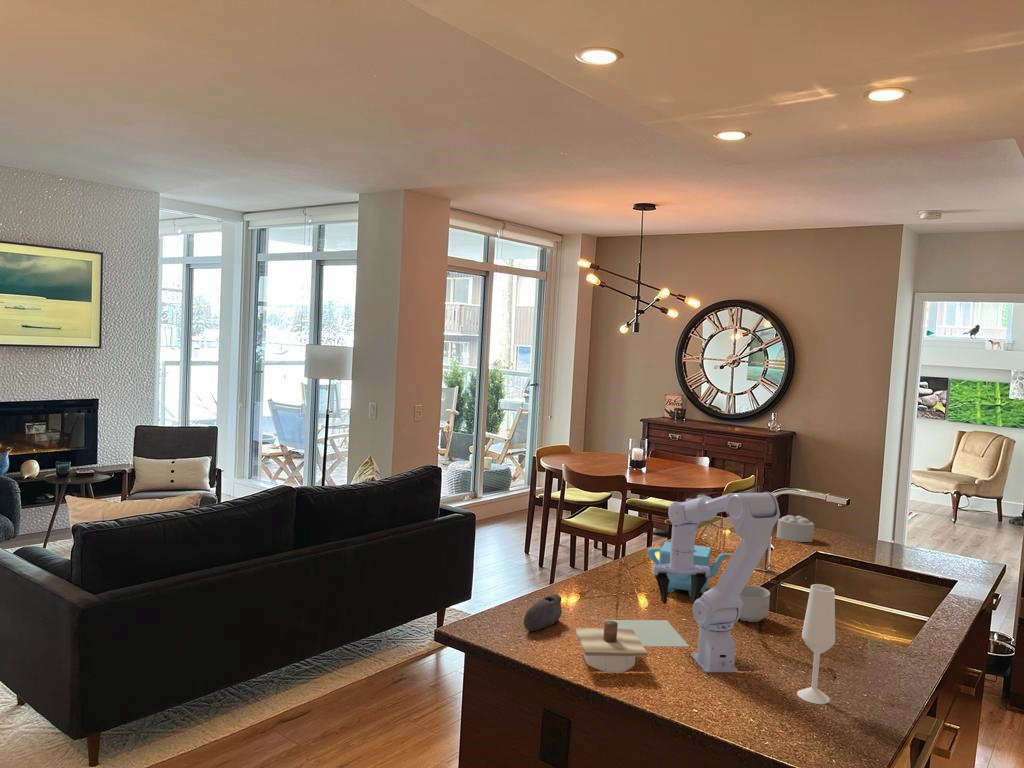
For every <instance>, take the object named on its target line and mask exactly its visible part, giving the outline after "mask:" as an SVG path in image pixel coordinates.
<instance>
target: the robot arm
mask: <svg viewBox="0 0 1024 768" xmlns="http://www.w3.org/2000/svg"><path fill="white" fill-rule="evenodd" d="M723 512H724V513H725V512H726V514H727V515H729V518H730V521H731V523H732V525H733V527H734V531H735V533H736V535H737V536H739V537H740V538H741V539H740V541H739V542H738V545H737V547H736V549H735V550H734V552H733V553H732V555H731V557H730V560H728V563H727V564H726V566H725V568H724V570H723V571H722V573H721V575H720V577H719V578H718V580H717V581H716V584H715V586H713V587H712V588H710V589H708V590H706V592H704V593H702V595H701V596H700V591H701V589H702V587H703V586H704V584H705V583H706V582H707V577H705V575H706V576H710V568H709V567H708V566H700V565H693V558H694V545H696V544H695V543H696V533H697V531H698V529H699V524H701V523H702V522H706V521H707V522H708V521H711V520H713V519H714V518H716V517H717V514H718V513H723ZM667 514H668V519H669V521H670V523H671V525H672V527H671V540H670V542H671V552H670V564H662V565H656V564H652V565H651V574H653V575H654V578H655V579H656V582H657V585H659V586H658V588H659V593H660V601H661V602H662V604H664V605H666V604H668V603H667V602H668V593H667V591H668V585H669V581H670V580H669V579H668V576H667V574H686V575H691V596H690V595H689V597H690V600H689V601H690V603H692V615H693V616H692V617H693V618H694V620H695V622H696V624H697V625H698V626H699V627H698V640H697V652H695V653H690V656H691V657H692V658H693V659H694V661H695V662H696V664H698V666H699V667H700V668H701V669H702V670H703V672H705V673H738V672H739V671H738V670H739V669H737V667H736V666H735V661H736V651H737V647H736V643H735V640H734V639H733V636H732V628H735V623H737V622H738V621H739V617H740V611H741V608H742V606H743V602H742V600H741V598H740V596H739V595H740V593H741V592H742V590H743V588H744V587H745V585H747V583H748V582H749V580H750V578H751V576H752V575H753V573H754V571H755V569H756V568H757V566H758V565H759V564H760V561H761V560H762V558H763V556H764V555H765V553H766V551H767V550H768V547H769V545H770V543H771V537H772V534H773V529H774V527H775V526H776V524H777V523H778V519H780V516H781V513H780V508H779V502H778V500H777V498H776V496H775V494H773V493H772V492H771V491H770V492H769V491H764V492H737V493H736V492H735V493H733V492H731V493H727V494H723V495H721V496H718V497H715V498H712V497H711V496H709V495H706V494H704V493H703V494H698V495H696V498H690V497H689V498H686V499H685V501H673V502H672V503H671V504H670V505H669V507H668V512H667Z"/></svg>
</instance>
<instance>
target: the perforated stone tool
mask: <svg viewBox="0 0 1024 768" xmlns="http://www.w3.org/2000/svg"><path fill="white" fill-rule="evenodd" d="M562 609H563V608H562V596H560V595H559V594H557V593H555V594H551V595H548V596H545V597H543V598H542V599H539V600H538V601H537V602H535V603H534V604H533V605H532V606H530V607H529V608H528V610H526V613H525V615H524V619H523V626H524V628H525V630H527V631H529V632H535V631H539V630H542V629H545V628H547V627H550V626H552V625H553V624H555V623H556V622H558V621H559V620H560V618H561V615H562V612H563V610H562Z"/></svg>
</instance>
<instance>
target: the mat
mask: <svg viewBox="0 0 1024 768" xmlns="http://www.w3.org/2000/svg"><path fill="white" fill-rule="evenodd" d="M605 621H615V622H617V623H618V626H617V629H633V631H634V632H635V634H636V635H637V637H638V639H639V640H640V642H641V643H642V645H643V647H644V648H645V647H647V648H649V647H650V648H651V647H653V648H654V647H655V648H656V647H658V648H659V647H664V648H666V647H668V648H669V647H677V648H678V647H681V648H682V647H686V648H687V647H690V645H689V644H688V643H687V642H686V640H684V638H683V637H682V636H681V635H680V633H678V631H677V630H676V629H675V627H673V626H672V625H671V623H670V622H669V621H668V620H666V619H665V620H664V619H663V620H660V619H657V620H656V619H651V620H650V619H648V620H647V619H642V620H641V619H625V620H624V619H604V622H605Z"/></svg>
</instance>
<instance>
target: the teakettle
mask: <svg viewBox="0 0 1024 768" xmlns="http://www.w3.org/2000/svg"><path fill="white" fill-rule="evenodd" d="M656 552H659V559H658V558H657V556H656V554H655V553H656ZM670 552H671V541H667V540H666V541H665V542H664V544H663V545H662V546H661V547H658V546H657V547H650V548H647V552H646V553H647V556H648V558H649V559H650V561H652V562H653V564H654V565H662V564H670ZM732 555H733V553H730V552H729V553H728V552H721V553H720V554H719V555H717V557H716V559H715V560H714V561H715V562H714V563H713V564H711V556H712V547H711V546H705V545H696V544H694V558H693V565H700V566H708V567H709V568H710V576H706V575H705V577H707V582H706V583H705V584H704V586H703V587H702V589H701V591H700V593H702V594H703V593H704V592H706V591H707V589H708V585H709V582H710V579H712V578H713V577H715V576H716V575H717V574H718V572H719V570H720V568H721V565H722V563H723V561H724V560H725V559H726V558H727V557H729V556H732ZM667 576H668V579H669V580H670V581H669V585H668V591H667V592H674V591H675V592H676V590H681V591H688V595H689V594H690V595H691V575H686V574H667ZM656 585H657V587H659V585H658V584H656ZM675 592H674V593H675ZM700 593H699V594H700ZM690 595H689V596H690Z"/></svg>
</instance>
